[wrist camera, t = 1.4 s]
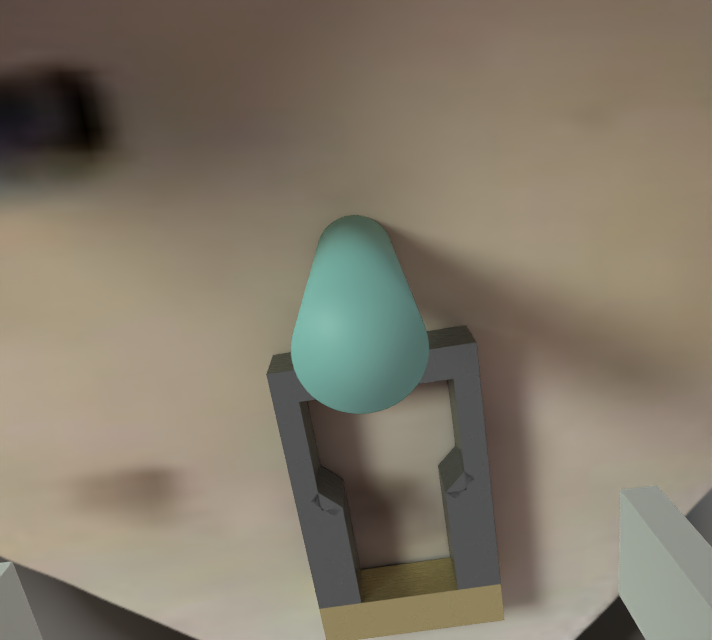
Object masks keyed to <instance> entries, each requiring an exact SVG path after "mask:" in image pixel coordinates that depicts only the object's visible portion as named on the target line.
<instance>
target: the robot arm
mask: <svg viewBox="0 0 712 640" xmlns="http://www.w3.org/2000/svg"><path fill="white" fill-rule="evenodd" d="M618 593H619V595H620V597H621V598H622V600H623V602H624V604H625V605H626V607H627V608H628V610H629V612H630V613H631V615H632V617H633V619H634V620H635V622H636V624H637V626H638V627H639V629H640V630H641V632H642V634H643V636H644V637H645V639H646V640H712V547H711V546H710V545H709V544H708V543H707V542H706V540H705V539H704V538H703V537H702V536H701V535H700V534H699V532H697V530H696V529H695V528H694V527H693V526H692V524H691V523H690V522H689V521H688V520H687V519H686V518H685V516H684V515H683V514H682V513H681V512H680V511H679V510H678V509H677V507H676V506H675V505H674V504H673V503H672V502H671V501H670V499H669V498H668V497H667V496H666V495H665V494H664V493H663V492H662V490H661V489H660V488H659V487H658V486H657V485H655V486H646V487H638V488H630V489H621V490H620V539H619V591H618ZM0 640H43V639H42V637H41V634H40V631H39V629H38V626H37V624H36V621H35V619H34V616H33V614H32V611H31V608H30V606H29V603H28V601H27V598H26V596H25V593H24V590H23V588H22V586H21V583H20V580H19V578H18V575H17V573H16V570H15V568H14V565H13V562H5V563H0Z"/></svg>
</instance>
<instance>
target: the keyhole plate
mask: <svg viewBox="0 0 712 640" xmlns="http://www.w3.org/2000/svg"><path fill="white" fill-rule="evenodd" d="M427 335H428V340H429V357H428V362H427V366H426V369H425V372H424V374H423V376H422V378H421V380H420V382H419V383H418V384H422V383H428V382H435V381H442V380H448V387H449V395H450V403H451V412H452V420H453V428H454V437H455V445H456V446H455V447H454V448H453V449H452V451H451V452H450V453H449V454H448V455H447V456H446V457H445V459H444V460H443V461H442V462H441V463H440V464H439V465H438V468H439V476H440V484H441V491H442V499H443V506H444V514H445V522H446V529H447V537H448V544H449V552H450V558H444V559H437V560H430V561H422V562H415V563H408V564H401V565H394V566H386V567H379V568H372V569H365V570H360V565H359V560H358V555H357V550H356V544H355V539H354V534H353V529H352V524H351V519H350V513H349V508H348V503H347V498H346V493H345V487H344V482H343V479H341V478H340V477H338V476H336V475H335V474H333V473H331V472H330V471H328V470H327V469H325V468H323V467H322V466H320V461H319V456H318V452H317V447H316V442H315V437H314V432H313V427H312V422H311V417H310V413H309V408H308V403H307V401H309V400H316V399H315V398H314V397H313V396H312V395H311V394H310V393H309V392H307V390H306V389H305V388H304V387H303V385H302V384H301V382H300V381H299V379H298V377H297V375H296V372H295V370H294V367H293V363H292V357H291V352H290V353H284V354H277V355H273V357H272V360H271V363H270V366H269V369H268V371H267V374H266V375H267V379H268V383H269V388H270V392H271V397H272V401H273V406H274V410H275V414H276V419H277V423H278V428H279V432H280V437H281V441H282V445H283V450H284V454H285V459H286V463H287V468H288V472H289V476H290V481H291V485H292V490H293V494H294V499H295V503H296V507H297V512H298V516H299V521H300V525H301V530H302V534H303V538H304V543H305V547H306V552H307V556H308V561H309V565H310V569H311V574H312V578H313V583H314V587H315V592H316V596H317V600H318V605H319V609H320V614H321V618H322V623H323V627H324V631H325V636H326V640H359V639H366V638H374V637H381V636H388V635H396V634H403V633H411V632H418V631H426V630H433V629H441V628H448V627H455V626H463V625H470V624H478V623H485V622H493V621H500V620H504V612H503V602H502V592H501V582H500V572H499V562H498V552H497V542H496V532H495V522H494V512H493V502H492V492H491V482H490V472H489V462H488V452H487V442H486V432H485V422H484V412H483V402H482V392H481V382H480V372H479V362H478V352H477V342H476V341H475V339H474V337H473V336H472V334H471V333H470V331H469V329H468V328H467V326H466V325H465V326H459V327H453V328H446V329H440V330H433V331H427Z"/></svg>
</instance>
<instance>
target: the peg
mask: <svg viewBox="0 0 712 640" xmlns="http://www.w3.org/2000/svg"><path fill="white" fill-rule="evenodd" d="M291 357H292V363H293V367H294V370H295V372H296V375H297V377H298V379H299V381H300V382H301V384H302V385H303V387H304V388H305V389H306V390H307V392H309V393H310V394H311V395H312V396H313V397H314V398H315V399H317V400H318V401H319V402H321V403H322V404H324V405H326V406H328V407H330V408H333V409H335V410H338V411H342V412H346V413H353V414H365V413H373V412H377V411H381V410H384V409H387V408H389V407H391V406H393V405H395V404H397V403H398V402H400V401H402V400H403V399H404V398H405V397H407V396H408V395H409V394H410V393H411V392H412V391H413V390H414V389H415V387H416V386H417V384H418V383H419V382H420V380H421V378H422V376H423V374H424V372H425V369H426V366H427V362H428V357H429V340H428V335H427V331H426V328H425V326H424V323H423V320H422V318H421V315H420V313H419V310H418V308H417V305H416V303H415V300H414V298H413V295H412V293H411V290H410V288H409V285H408V283H407V280H406V278H405V276H404V273H403V271H402V268H401V266H400V263H399V261H398V258H397V256H396V253H395V251H394V248H393V246H392V243H391V241H390V238H389V236H388V234H387V232H386V231H385V230H384V228H383V227H382V226H381V225H380V224H378V223H377V222H376V221H374V220H372V219H370V218H368V217H364V216H359V215H351V216H345V217H342V218H339V219H338V220H336V221H334V222H333V223H331V224H330V225H329V226H328V227H327V228H326V229H325V231H324V232H323V234H322V235H321V237H320V240H319V243H318V247H317V250H316V254H315V257H314V261H313V264H312V268H311V272H310V275H309V279H308V282H307V286H306V289H305V293H304V297H303V300H302V304H301V307H300V311H299V314H298V318H297V322H296V325H295V329H294V332H293V336H292V342H291Z"/></svg>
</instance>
